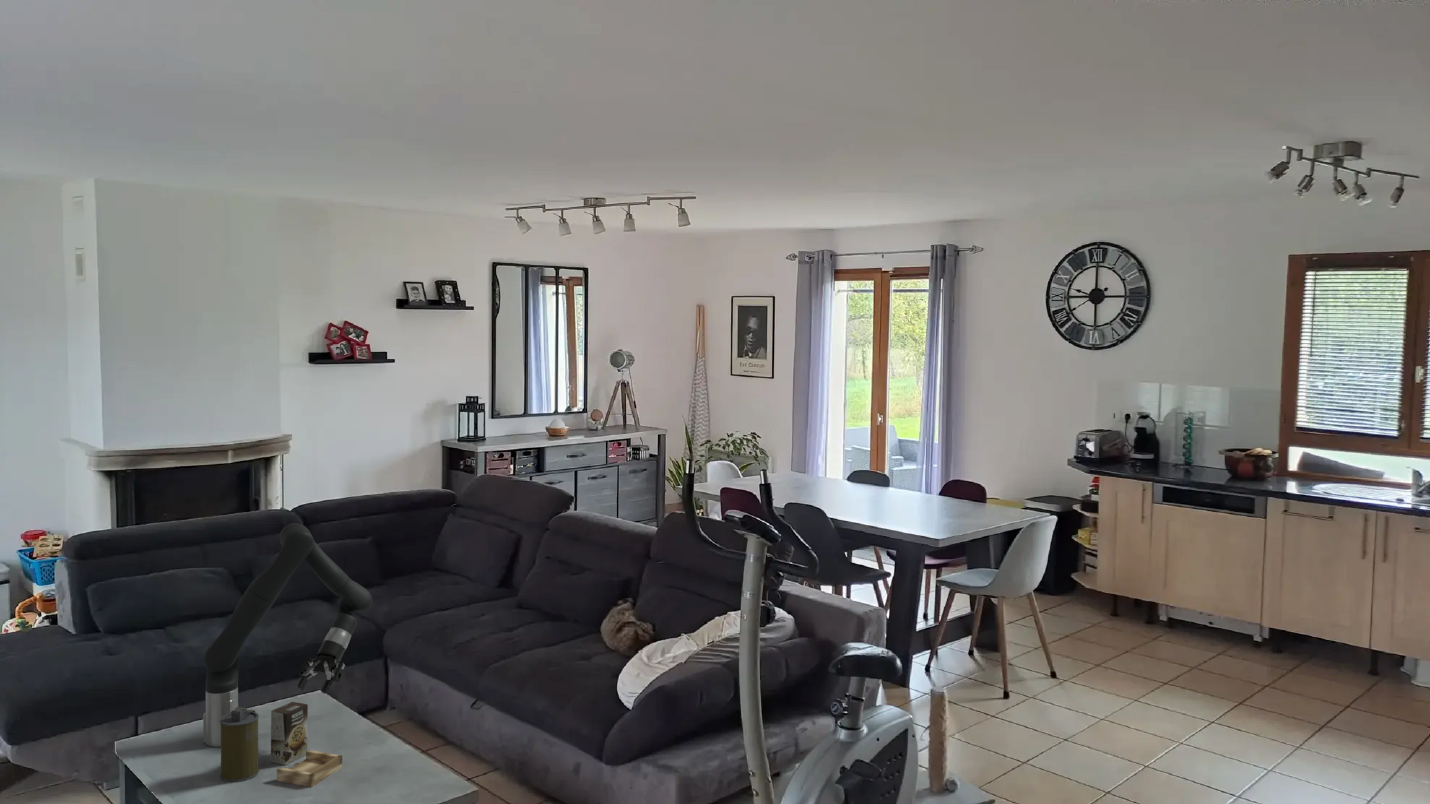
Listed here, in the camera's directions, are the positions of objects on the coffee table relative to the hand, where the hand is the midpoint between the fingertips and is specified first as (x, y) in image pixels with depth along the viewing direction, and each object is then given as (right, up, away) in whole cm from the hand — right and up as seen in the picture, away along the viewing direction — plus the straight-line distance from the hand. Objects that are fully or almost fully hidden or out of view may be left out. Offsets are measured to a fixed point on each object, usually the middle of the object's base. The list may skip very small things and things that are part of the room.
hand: (311, 690), depth 317 cm
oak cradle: (+7, -19, -19) cm, 28 cm away
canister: (-13, -19, -20) cm, 31 cm away
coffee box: (-3, -18, -9) cm, 21 cm away
